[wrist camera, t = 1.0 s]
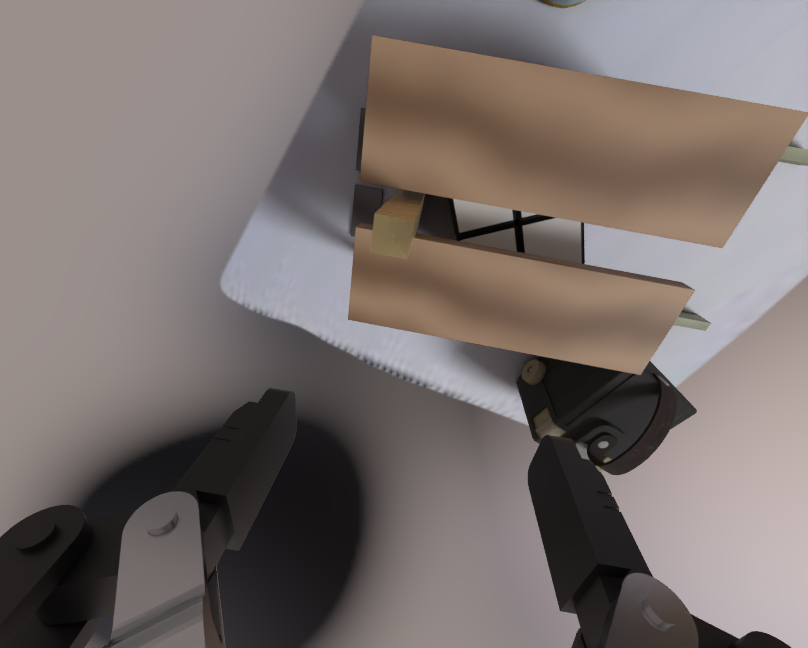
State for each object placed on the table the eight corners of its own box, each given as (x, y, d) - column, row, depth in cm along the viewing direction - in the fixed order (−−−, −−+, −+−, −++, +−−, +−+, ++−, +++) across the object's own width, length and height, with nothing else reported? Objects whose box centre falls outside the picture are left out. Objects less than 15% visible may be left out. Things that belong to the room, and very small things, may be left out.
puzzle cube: (545, 137, 32) (584, 134, 23) (551, 238, 36) (586, 267, 27) (443, 166, 34) (443, 173, 25) (461, 258, 38) (466, 292, 30)
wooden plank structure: (364, 73, 31) (309, 24, 18) (808, 153, 30) (1072, 159, 18) (349, 258, 40) (305, 311, 27) (693, 322, 39) (814, 408, 26)
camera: (503, 378, 46) (527, 472, 33) (581, 304, 39) (649, 384, 26) (562, 415, 48) (607, 517, 35) (645, 350, 41) (738, 444, 28)
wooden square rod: (417, 127, 32) (386, 105, 14) (438, 131, 32) (432, 113, 14) (400, 239, 37) (362, 326, 19) (418, 242, 37) (395, 332, 19)
